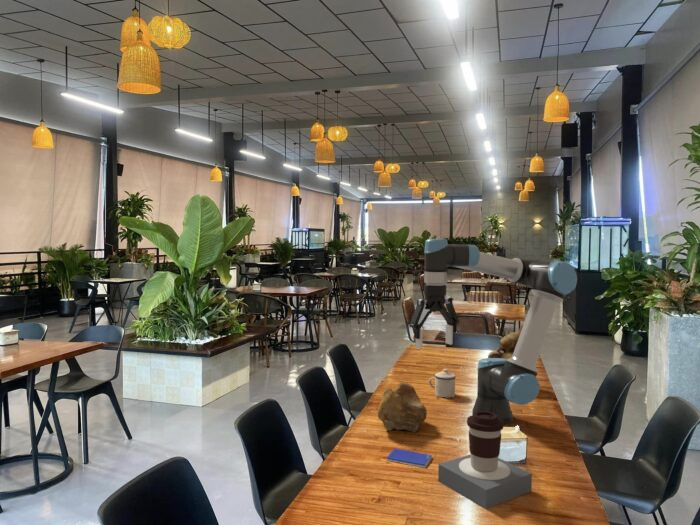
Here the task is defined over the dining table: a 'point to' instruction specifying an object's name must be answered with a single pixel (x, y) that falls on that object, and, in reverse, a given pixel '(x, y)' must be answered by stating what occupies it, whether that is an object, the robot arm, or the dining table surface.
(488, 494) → the slate stand
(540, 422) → the dining table surface
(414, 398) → the rough brown rock
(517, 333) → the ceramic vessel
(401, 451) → the hard drive
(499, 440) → the coffee cup
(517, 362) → the robot arm
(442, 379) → the teacup with lid
